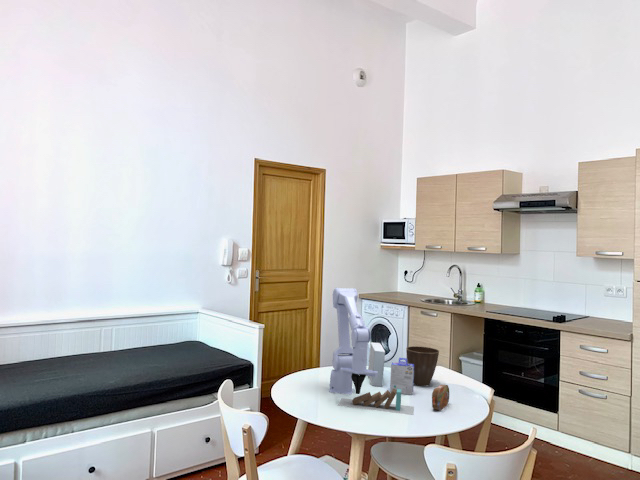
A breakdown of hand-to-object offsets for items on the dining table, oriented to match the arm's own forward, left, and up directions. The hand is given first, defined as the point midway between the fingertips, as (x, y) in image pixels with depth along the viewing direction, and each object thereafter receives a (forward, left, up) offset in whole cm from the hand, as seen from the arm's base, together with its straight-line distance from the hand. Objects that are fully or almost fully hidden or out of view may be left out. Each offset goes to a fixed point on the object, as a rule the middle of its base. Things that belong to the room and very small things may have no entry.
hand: (357, 393), depth 194 cm
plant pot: (+24, +41, -5) cm, 48 cm away
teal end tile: (+16, 0, -4) cm, 16 cm away
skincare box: (+3, +39, -5) cm, 39 cm away
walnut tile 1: (-2, 0, -3) cm, 4 cm away
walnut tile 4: (+11, 0, -4) cm, 12 cm away
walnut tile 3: (+7, 0, -4) cm, 8 cm away
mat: (+7, 0, -4) cm, 9 cm away
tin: (+32, +9, -5) cm, 33 cm away
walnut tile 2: (+3, 0, -3) cm, 4 cm away
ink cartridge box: (+16, +24, -5) cm, 29 cm away
